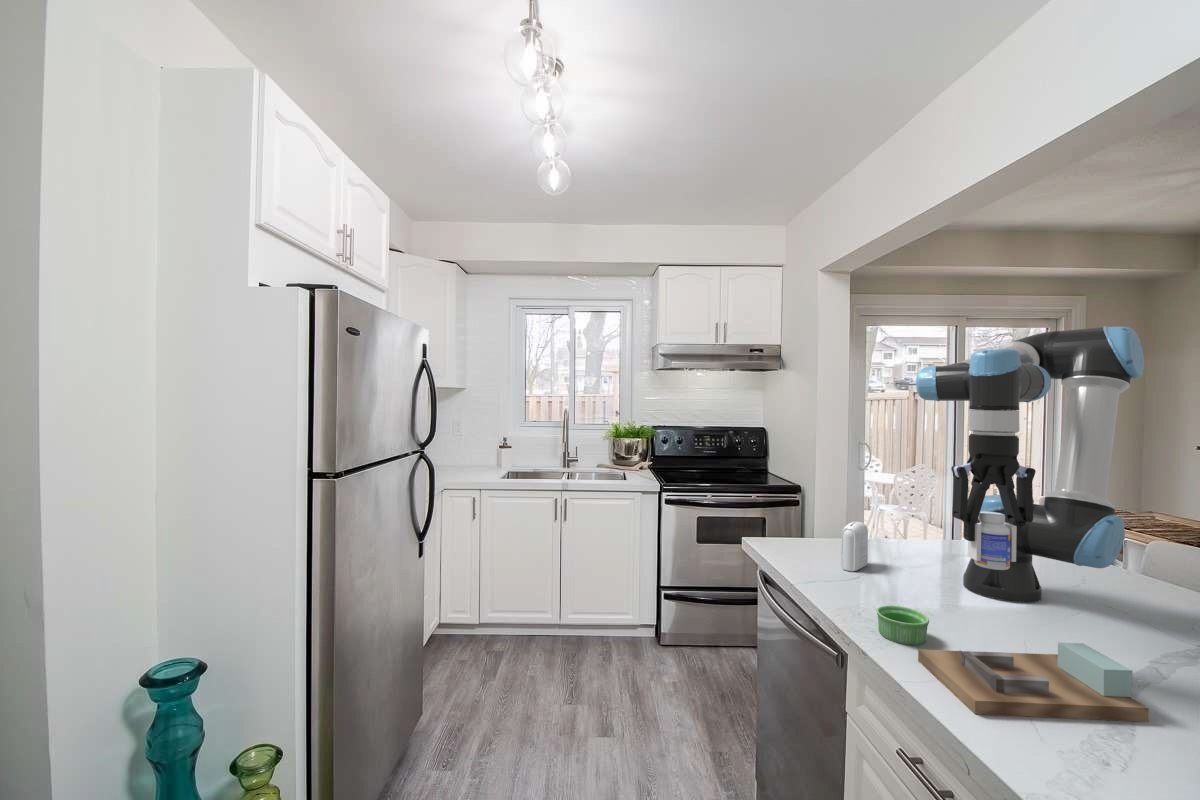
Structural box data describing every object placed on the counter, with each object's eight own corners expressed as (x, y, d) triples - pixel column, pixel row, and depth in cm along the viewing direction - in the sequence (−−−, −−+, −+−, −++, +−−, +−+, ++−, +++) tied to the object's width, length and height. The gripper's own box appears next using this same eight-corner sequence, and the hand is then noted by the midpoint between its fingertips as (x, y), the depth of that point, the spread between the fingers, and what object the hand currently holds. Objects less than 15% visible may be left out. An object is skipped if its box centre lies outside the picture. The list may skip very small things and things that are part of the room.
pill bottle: (1016, 571, 96) (1017, 517, 96) (982, 569, 97) (983, 515, 97) (1000, 562, 101) (1001, 511, 101) (968, 560, 102) (969, 509, 102)
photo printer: (853, 561, 152) (854, 518, 152) (869, 564, 149) (870, 520, 149) (839, 569, 145) (839, 523, 145) (855, 573, 142) (856, 526, 142)
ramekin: (907, 650, 99) (907, 627, 99) (865, 631, 107) (866, 609, 107) (939, 642, 103) (940, 619, 103) (897, 623, 111) (897, 602, 111)
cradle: (1060, 666, 94) (1061, 643, 94) (1148, 721, 78) (1148, 694, 78) (918, 660, 95) (918, 638, 95) (975, 714, 79) (975, 687, 79)
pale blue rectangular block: (1083, 667, 89) (1083, 643, 89) (1132, 697, 80) (1132, 670, 80) (1057, 666, 89) (1057, 642, 89) (1103, 695, 80) (1104, 669, 80)
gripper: (1031, 432, 102) (1029, 554, 102) (930, 431, 104) (928, 551, 104) (1062, 435, 95) (1060, 567, 95) (953, 434, 96) (951, 563, 96)
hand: (991, 558), depth 99 cm, fingers closed on pill bottle, 5 cm apart
